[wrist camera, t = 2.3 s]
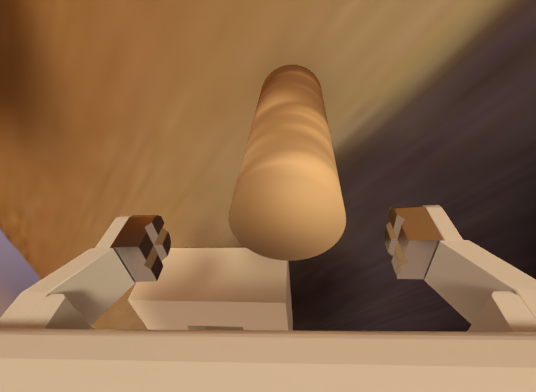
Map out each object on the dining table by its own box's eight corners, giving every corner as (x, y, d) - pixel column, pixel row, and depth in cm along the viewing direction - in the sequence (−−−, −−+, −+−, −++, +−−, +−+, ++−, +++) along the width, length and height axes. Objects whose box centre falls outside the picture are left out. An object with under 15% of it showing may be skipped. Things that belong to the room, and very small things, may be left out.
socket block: (287, 247, 29) (285, 302, 24) (292, 319, 37) (292, 370, 33) (153, 248, 30) (127, 300, 26) (188, 317, 39) (174, 365, 34)
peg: (322, 62, 18) (350, 173, 9) (320, 123, 20) (341, 260, 11) (257, 67, 18) (218, 178, 9) (264, 126, 21) (238, 260, 11)
